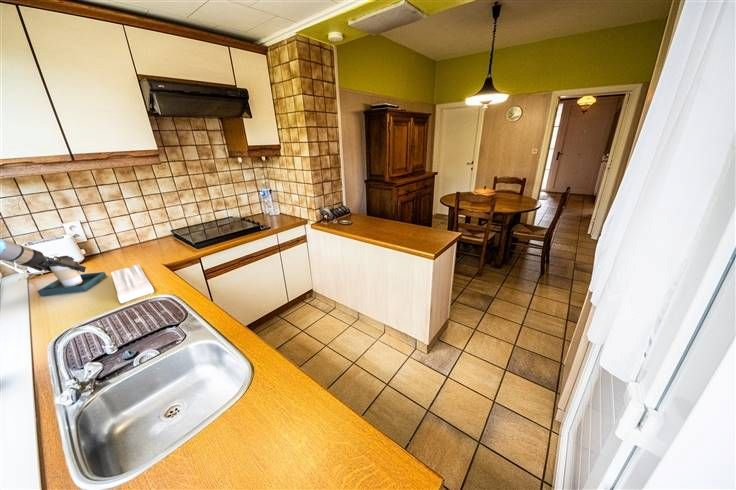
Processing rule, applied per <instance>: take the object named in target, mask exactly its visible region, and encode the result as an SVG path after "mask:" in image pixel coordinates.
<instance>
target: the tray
mask: <svg viewBox="0 0 736 490" xmlns="http://www.w3.org/2000/svg"><path fill="white" fill-rule="evenodd" d="M80 276H81V278H82V281H83V282H82V283H81V284H79V285H76V286H73V287H64V286H63V285H62V283H61V282H60V281H59V280H58V279H56V280H54V281H52V282H51V283H49V284H48V285H45V286H44V287H42V288H40V289H38V290H37V291H36V292H37V294H38V296H39V297H40V298H41V297H48V296H56V295H66V294H77V293H84V292H87V291H88V290H90V289H92V288H93V287H94V286H96V285H98V284H99V283H100V282H102V281H103V280H105V279H106V278H107V277H108V275H107V273H106V271H101V272H99V271H98V272H90V273H80Z"/></svg>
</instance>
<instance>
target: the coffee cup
mask: <svg viewBox="0 0 736 490" xmlns="http://www.w3.org/2000/svg"><path fill="white" fill-rule="evenodd" d="M59 257H60V258H63V259H67V260H71V261H75V258H74V257H73V256H69V255H61V256H59ZM52 262H53V261H52ZM51 264H52V263H51ZM48 267H50V269H51V271H52V273H53V274H54V276H55V277H56V280H59V281H60V282H61V283H62V285H63V286H64V287H73V286H76V285H79V284H81V283H82V282H83V281H82V278H81V276H80V274H81V272H80V271H77V270H72V269H71V268H69V267H62V266H55V265H54V266H48Z"/></svg>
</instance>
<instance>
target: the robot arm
mask: <svg viewBox="0 0 736 490" xmlns="http://www.w3.org/2000/svg"><path fill="white" fill-rule="evenodd" d="M0 260H1V261H5V262H9V263H11V264H13V265H16V264H17V265H20V266H23V267H28V268H31V269H34V270H35V271H38V272H43V271H44V272H52V271H51V269H50V267H48V266H54V265H55V266H62V267H69V268H71V269H72V270H77V271H79V273H86V269H87V267H86V266H83V265H81V264H79V261H76V260H74V261H71V260H67V259H63V258H60V256H57V255H55V256H53V257H49V256H46V255H44V253H43V252H41V251H39V250H36V249H34V248H30V247H27V246H24V245H22V244H17V243H14V242H11V241H8V240H5V239H3V238H0ZM52 261H53V262H52ZM51 263H52V264H51ZM52 273H53V272H52Z"/></svg>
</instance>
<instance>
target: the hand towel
mask: <svg viewBox="0 0 736 490" xmlns="http://www.w3.org/2000/svg"><path fill="white" fill-rule="evenodd" d="M110 274H111V277H112V280H113V284H114V288H115V291H116V295H117V299H118V301H119V303H120V304H125V303H129V302H131V301H133V300H136V299H140V298H142V297H145V296H147V295H151V294H153V293H155V290H154V287H153V285H152V284H151V282H150V280H149V279H148V278H147V276H146V274H145V273H144V271H143V269H142V267H140V264H139V263H137V264H133V265H131V266H130V267H124V268H120V269H117V270H114V271H110Z"/></svg>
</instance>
